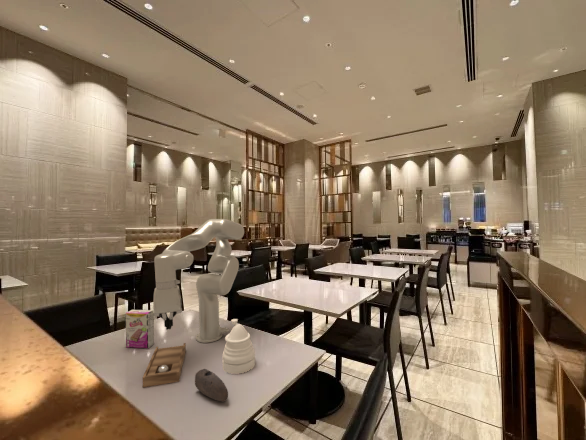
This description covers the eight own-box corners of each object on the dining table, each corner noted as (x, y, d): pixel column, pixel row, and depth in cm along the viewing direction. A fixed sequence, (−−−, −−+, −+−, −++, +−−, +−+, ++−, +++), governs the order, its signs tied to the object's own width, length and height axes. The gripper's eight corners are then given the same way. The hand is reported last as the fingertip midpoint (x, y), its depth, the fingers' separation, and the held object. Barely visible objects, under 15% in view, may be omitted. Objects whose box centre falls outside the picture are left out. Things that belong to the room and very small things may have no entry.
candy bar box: (125, 348, 127) (124, 312, 127) (132, 343, 132) (131, 309, 132) (148, 349, 126) (147, 313, 126) (154, 344, 131) (154, 309, 131)
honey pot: (215, 369, 109) (214, 323, 109) (236, 354, 121) (235, 313, 120) (241, 377, 103) (240, 329, 103) (261, 361, 115) (260, 318, 114)
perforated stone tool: (233, 401, 90) (233, 380, 90) (220, 410, 86) (219, 388, 86) (206, 384, 100) (206, 365, 100) (193, 391, 96) (193, 371, 95)
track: (156, 354, 121) (156, 346, 121) (185, 350, 124) (185, 342, 124) (142, 387, 98) (142, 377, 98) (179, 381, 101) (178, 372, 101)
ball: (169, 373, 107) (169, 362, 107) (168, 377, 103) (168, 366, 104) (158, 374, 106) (158, 364, 106) (156, 379, 102) (156, 368, 102)
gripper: (186, 280, 118) (189, 321, 119) (148, 283, 114) (151, 327, 115) (184, 285, 111) (187, 329, 112) (143, 289, 107) (146, 335, 108)
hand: (169, 328), depth 114 cm, fingers closed
